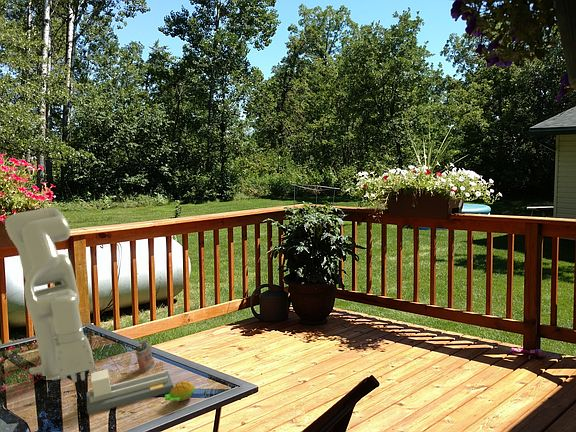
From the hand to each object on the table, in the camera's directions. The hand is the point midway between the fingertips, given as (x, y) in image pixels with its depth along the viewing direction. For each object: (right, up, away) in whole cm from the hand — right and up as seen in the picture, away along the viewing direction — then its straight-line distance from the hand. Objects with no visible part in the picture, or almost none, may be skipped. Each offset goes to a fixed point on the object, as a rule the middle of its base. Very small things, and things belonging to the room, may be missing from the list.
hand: (81, 391), depth 170 cm
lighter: (+14, 0, +25) cm, 28 cm away
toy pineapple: (+32, -2, -3) cm, 32 cm away
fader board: (+14, -3, +5) cm, 15 cm away
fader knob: (+6, -2, +2) cm, 7 cm away
